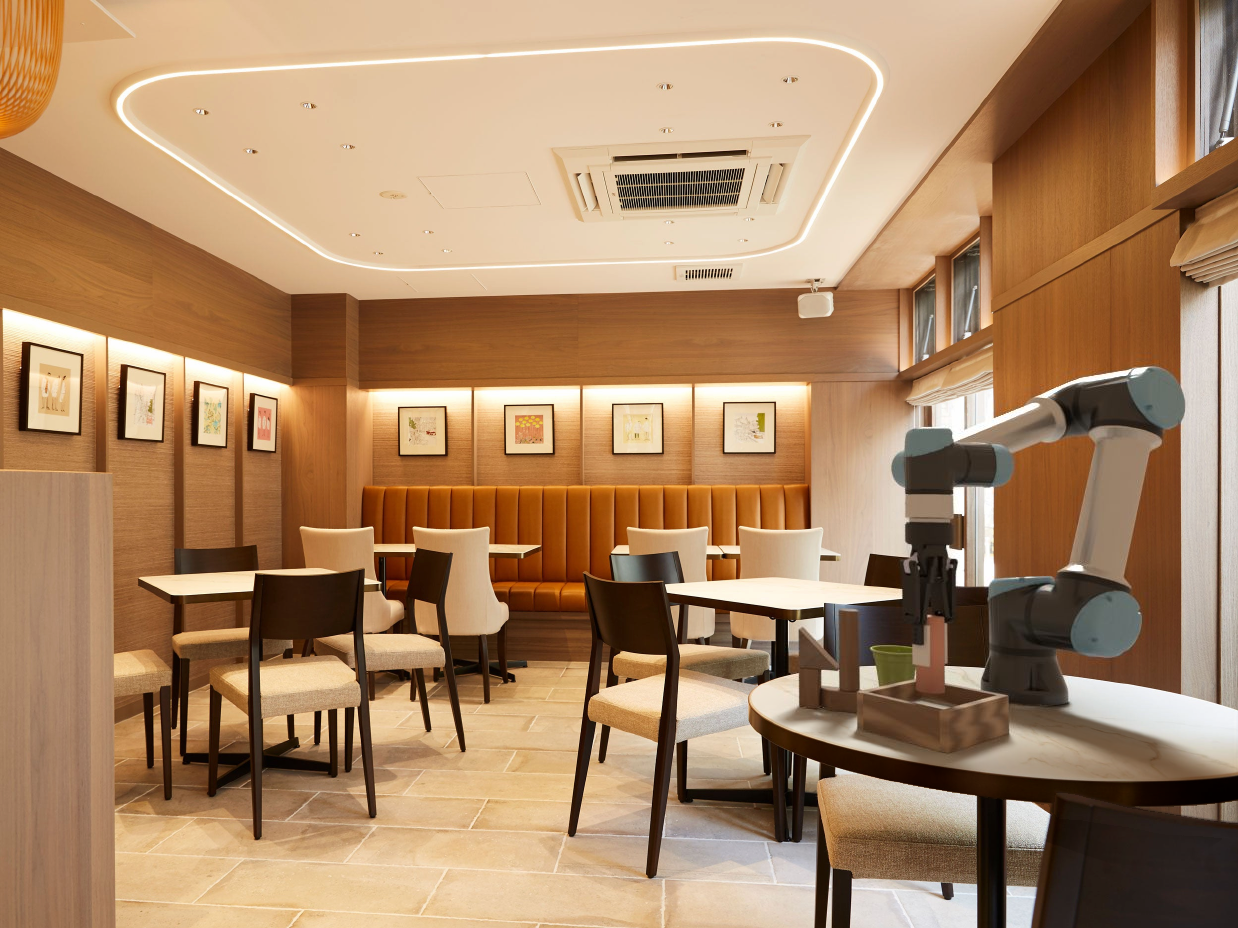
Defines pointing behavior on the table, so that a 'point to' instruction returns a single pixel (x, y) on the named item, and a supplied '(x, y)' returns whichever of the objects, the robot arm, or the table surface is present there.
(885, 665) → the plant pot
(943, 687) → the peg
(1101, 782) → the table surface
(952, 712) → the box
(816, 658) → the brown wooden stacked blocks
